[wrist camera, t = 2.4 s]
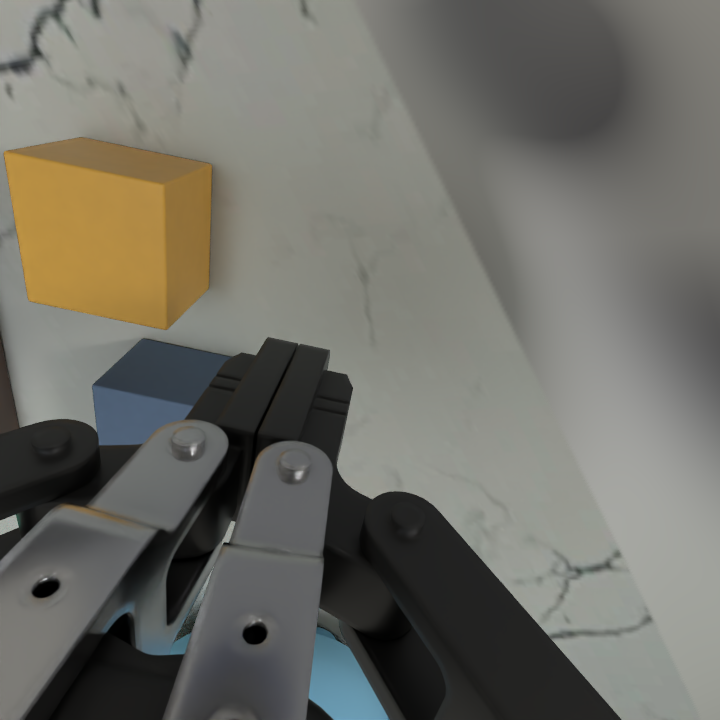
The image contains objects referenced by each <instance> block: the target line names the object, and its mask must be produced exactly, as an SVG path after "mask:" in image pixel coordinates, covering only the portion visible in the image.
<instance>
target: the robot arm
mask: <svg viewBox="0 0 720 720" xmlns="http://www.w3.org/2000/svg"><path fill="white" fill-rule="evenodd" d="M329 357H330V350H327V349H322V348H317V347H313V346H308V345H303V344H300V345H298V343H293V342H289V341H284V340H279V339H275V338H270V337H268V338H267V339H266V340H265V342H264V344H263V345H262V347H261V349H260V350H259V352H258V354H257V355H251V354H246V353H240V354H238V355H236V356H234V357H232V358H231V359H229V360H227V361H225V363H224V364H223V365H222V367H221V368H220V370H219V371H218V372H217V375H216V376H215V377H214V378H213V380H212V381H211V382H210V384H209V387H207V388H206V389H205V391H204V392H203V394H202V395H201V397H200V398H199V399H198V401H197V402H196V404H195V405H194V406H193V408H192V409H191V411H190V412H189V414H188V415H187V416H186V418H185V419H184V420H179V421H175V422H171V423H168V424H166V425H164V426H162V427H160V428H159V429H157V430H156V431H155V432H154V433H152V435H151V436H150V437H149V438H148V439H147V440H146V441H145V442H144V443H143V444H136V445H99V438H98V434H97V432H96V431H95V430H94V429H93V428H92V427H91V426H89V425H88V424H86V423H83V422H80V421H76V420H70V419H56V420H48V421H43V422H39V423H35V424H32V425H29V426H25V427H22V428H19V429H15V430H12V431H9V432H5V433H2V434H0V520H2V519H5V518H7V517H10V516H12V515H15V514H16V516H17V521H18V525H19V528H17V529H14V530H12V531H10V532H7V533H5V534H2V535H0V720H334V719H333V718H331V717H330V716H329V715H328V714H327V713H326V712H325V711H324V710H323V709H322V708H321V707H320V706H318V705H317V704H316V703H315V702H313V701H312V700H311V699H309V689H310V680H311V672H312V663H313V655H314V646H315V637H316V629H317V620H318V612H319V608H321V609H323V610H324V611H326V612H328V613H329V614H331V615H333V616H334V617H336V618H338V619H339V626H340V630H341V633H342V635H343V637H344V639H345V641H346V643H347V644H348V646H349V648H350V650H351V652H352V653H353V655H354V657H355V659H356V660H357V662H358V664H359V666H360V668H361V669H362V671H363V673H364V675H365V677H366V678H367V680H368V682H369V684H370V685H371V687H372V689H373V691H374V693H375V694H376V696H377V698H378V700H379V702H380V703H381V705H382V707H383V709H384V710H385V712H386V714H387V716H388V718H389V719H390V720H621V719H620V717H619V716H618V715H617V714H616V713H615V712H614V711H613V709H612V708H611V707H610V706H609V705H608V704H607V703H606V701H605V700H604V699H603V698H602V697H601V696H600V695H599V693H598V692H597V691H596V690H595V689H594V688H593V687H592V685H591V684H590V683H589V682H588V681H587V680H586V679H585V677H584V676H583V675H582V674H581V673H580V672H579V671H578V670H577V668H576V667H575V666H574V665H573V664H572V663H571V662H570V660H569V659H568V658H567V657H566V656H565V655H564V654H563V652H562V651H561V650H560V649H559V648H558V647H557V646H556V644H555V643H554V642H553V641H552V640H551V639H550V638H549V636H548V635H547V634H546V633H545V632H544V631H543V630H542V628H541V627H540V626H539V625H538V624H537V623H536V622H535V620H534V619H533V618H532V617H531V616H530V615H529V614H528V612H527V611H526V610H525V609H524V608H523V607H522V606H521V604H520V603H519V602H518V601H517V600H516V599H515V598H514V596H513V595H512V594H511V593H510V592H509V591H508V590H507V588H506V587H505V586H504V585H503V584H502V583H501V582H500V581H499V579H498V578H497V577H496V576H495V575H494V574H493V573H492V571H491V570H490V569H489V568H488V567H487V566H486V565H485V563H484V562H483V561H482V560H481V559H480V558H479V557H478V555H477V554H476V553H475V552H474V551H473V550H472V549H471V547H470V546H469V545H468V544H467V543H466V542H465V541H464V539H463V538H462V537H461V536H460V535H459V534H458V533H457V531H456V530H455V529H454V528H453V527H452V526H451V525H450V523H449V522H448V521H447V520H446V519H445V518H444V517H443V515H442V514H441V513H440V512H439V511H438V510H437V509H436V508H435V507H434V506H433V505H432V504H431V503H429V502H428V501H426V500H425V499H423V498H421V497H419V496H417V495H414V494H410V493H406V492H396V491H395V492H387V493H383V494H381V495H379V496H377V497H375V498H374V499H373V500H372V499H370V498H368V497H366V496H364V495H362V494H360V493H358V492H357V491H355V490H354V489H352V488H351V487H350V486H349V485H347V484H346V483H345V481H344V480H343V479H342V478H341V476H340V474H339V472H338V469H337V461H338V457H339V452H340V448H341V443H342V439H343V434H344V429H345V424H346V420H347V415H348V410H349V405H350V400H351V395H352V390H353V387H352V385H351V383H350V381H349V378H348V376H347V375H346V374H341V373H336V372H332V371H327V369H328V363H329ZM231 521H235V522H236V523H235V526H234V530H233V533H232V536H231V539H230V541H229V543H226V542H224V543H223V545H222V539H223V538H224V536H225V534H226V531H227V529H228V527H229V524H230V522H231ZM213 567H214V568H213ZM212 568H213V571H212V574H211V577H210V580H209V583H208V586H207V589H206V591H205V594H204V597H203V600H202V603H201V606H200V609H199V612H198V615H197V618H196V621H195V624H194V627H193V630H192V633H191V636H190V639H189V642H188V645H187V648H186V651H185V654H174V655H169V654H170V651H171V648H172V646H173V643H174V641H175V639H176V636H177V634H178V632H179V631H180V629H181V627H182V625H183V623H184V621H185V619H186V617H187V616H188V614H189V612H190V610H191V608H192V606H193V604H194V602H195V600H196V599H197V597H198V595H199V593H200V591H201V589H202V587H203V585H204V584H205V582H206V580H207V578H208V576H209V574H210V572H211V570H212Z"/></svg>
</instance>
